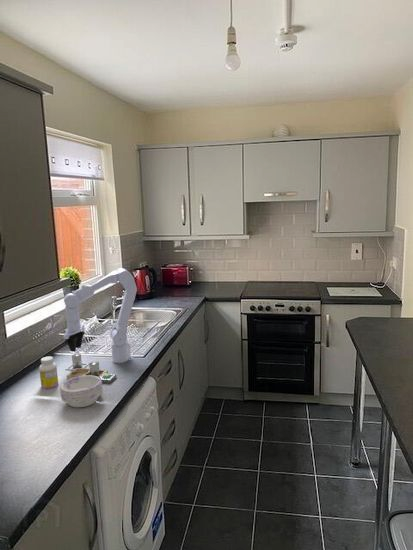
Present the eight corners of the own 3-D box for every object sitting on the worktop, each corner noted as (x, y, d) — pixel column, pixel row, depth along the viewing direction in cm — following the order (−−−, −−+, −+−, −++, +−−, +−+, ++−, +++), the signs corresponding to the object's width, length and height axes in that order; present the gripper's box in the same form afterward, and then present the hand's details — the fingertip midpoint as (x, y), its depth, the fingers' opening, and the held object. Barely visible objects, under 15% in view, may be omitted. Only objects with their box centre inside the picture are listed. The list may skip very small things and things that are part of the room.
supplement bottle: (41, 386, 179) (38, 356, 177) (58, 383, 181) (55, 354, 179) (41, 392, 173) (38, 362, 170) (58, 389, 175) (55, 359, 173)
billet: (75, 365, 198) (74, 353, 197) (83, 366, 197) (82, 353, 196) (71, 369, 194) (70, 356, 193) (79, 369, 193) (78, 357, 192)
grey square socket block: (104, 378, 184) (104, 373, 184) (116, 379, 183) (116, 374, 182) (98, 384, 178) (97, 379, 178) (110, 385, 177) (109, 380, 176)
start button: (105, 380, 182) (105, 373, 182) (111, 380, 181) (111, 374, 181) (102, 383, 179) (102, 376, 179) (108, 383, 179) (108, 376, 178)
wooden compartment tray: (77, 373, 191) (76, 368, 190) (108, 375, 187) (107, 370, 187) (67, 380, 183) (66, 375, 183) (99, 383, 180) (98, 377, 179)
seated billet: (93, 374, 187) (92, 361, 186) (101, 374, 186) (100, 361, 185) (88, 378, 183) (87, 364, 182) (97, 378, 182) (96, 365, 181)
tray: (74, 365, 200) (74, 362, 200) (89, 366, 199) (89, 363, 198) (65, 371, 193) (65, 368, 193) (80, 372, 191) (80, 369, 191)
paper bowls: (73, 392, 172) (71, 373, 171) (109, 393, 170) (108, 375, 168) (54, 410, 158) (52, 390, 156) (93, 412, 155) (91, 392, 153)
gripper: (73, 315, 200) (76, 343, 202) (55, 324, 186) (58, 354, 188) (87, 316, 198) (89, 344, 200) (70, 325, 184) (73, 355, 186)
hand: (75, 349), depth 194 cm, fingers open, 4 cm apart
